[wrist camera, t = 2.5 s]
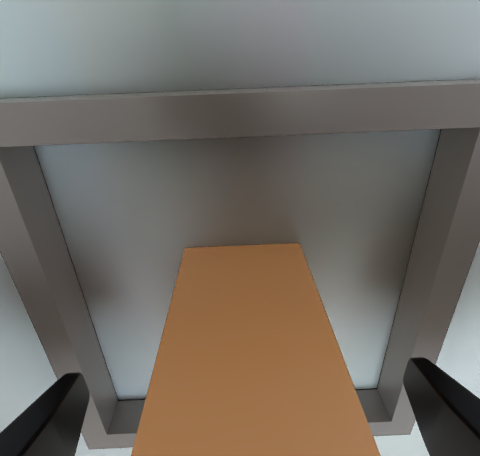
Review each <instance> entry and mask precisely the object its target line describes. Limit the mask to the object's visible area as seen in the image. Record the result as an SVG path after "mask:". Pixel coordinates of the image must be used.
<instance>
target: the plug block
mask: <svg viewBox="0 0 480 456" xmlns="http://www.w3.org/2000/svg"><path fill="white" fill-rule="evenodd" d="M131 456H380V453H379V451H378V448H377V445H376V443H375V440H374V437H373V435H372V432H371V430H370V427H369V424H368V422H367V419H366V416H365V414H364V411H363V409H362V406H361V403H360V401H359V398H358V395H357V393H356V390H355V387H354V385H353V382H352V380H351V377H350V374H349V372H348V369H347V366H346V364H345V361H344V359H343V356H342V353H341V351H340V348H339V345H338V343H337V340H336V338H335V335H334V332H333V330H332V327H331V324H330V322H329V319H328V317H327V314H326V311H325V309H324V306H323V303H322V301H321V298H320V296H319V293H318V290H317V288H316V285H315V282H314V280H313V277H312V275H311V272H310V269H309V267H308V264H307V261H306V259H305V256H304V253H303V251H302V248H301V246H300V243H287V244H263V245H240V246H216V247H193V248H185V249H184V252H183V256H182V260H181V264H180V268H179V272H178V276H177V280H176V283H175V287H174V291H173V295H172V299H171V303H170V307H169V311H168V314H167V318H166V322H165V326H164V330H163V334H162V338H161V342H160V345H159V349H158V353H157V357H156V361H155V365H154V369H153V373H152V376H151V380H150V384H149V388H148V392H147V396H146V400H145V404H144V407H143V411H142V415H141V419H140V423H139V427H138V431H137V435H136V438H135V442H134V446H133V450H132V454H131Z"/></svg>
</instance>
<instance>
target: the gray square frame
mask: <svg viewBox="0 0 480 456" xmlns="http://www.w3.org/2000/svg"><path fill="white" fill-rule="evenodd" d="M425 129H442V130H441V134H440V138H439V142H438V146H437V150H436V154H435V158H434V162H433V166H432V170H431V174H430V178H429V182H428V186H427V190H426V195H425V199H424V203H423V207H422V211H421V215H420V219H419V223H418V227H417V231H416V235H415V239H414V243H413V247H412V251H411V255H410V259H409V263H408V267H407V271H406V275H405V279H404V283H403V287H402V291H401V295H400V299H399V303H398V307H397V311H396V315H395V319H394V323H393V327H392V331H391V335H390V339H389V343H388V347H387V351H386V355H385V359H384V363H383V367H382V371H381V375H380V380H379V384H378V388H377V389H371V390H356V393H357V395H358V398H359V401H360V403H361V406H362V409H363V411H364V414H365V416H366V419H367V422H368V424H369V427H370V430H371V432H372V435H373V436H389V435H410V434H411V431H412V428H413V426H414V423H415V420H416V418H415V416H414V413H413V410H412V407H411V405H410V402H409V399H408V396H407V393H406V391H405V388H404V385H403V375H404V372H405V369H406V365H407V362H408V360H409V359H410V358H415V357H424V358H426V359H428V360H430V361H431V362H432V363H433V364H436V361H437V358H438V356H439V353H440V350H441V347H442V345H443V342H444V339H445V336H446V333H447V331H448V328H449V325H450V322H451V319H452V317H453V314H454V311H455V308H456V305H457V303H458V300H459V297H460V294H461V291H462V289H463V286H464V283H465V280H466V277H467V275H468V272H469V269H470V266H471V263H472V261H473V258H474V255H475V252H476V250H477V247H478V244H479V241H480V79H470V80H445V81H421V82H396V83H371V84H347V85H322V86H298V87H273V88H249V89H224V90H199V91H175V92H150V93H126V94H101V95H76V96H52V97H27V98H3V99H0V252H1V255H2V257H3V259H4V261H5V264H6V266H7V268H8V270H9V272H10V275H11V277H12V279H13V281H14V284H15V286H16V288H17V290H18V293H19V295H20V297H21V299H22V301H23V304H24V306H25V308H26V310H27V313H28V315H29V317H30V319H31V321H32V324H33V326H34V328H35V330H36V333H37V335H38V337H39V339H40V342H41V344H42V346H43V348H44V350H45V353H46V355H47V357H48V359H49V362H50V364H51V366H52V368H53V370H54V373H55V375H56V377H57V379H59V378H61V377H62V376H63V375H64V374H66V373H74V372H80V373H82V374H83V376H84V378H85V381H86V384H87V386H88V389H89V392H90V398H89V403H88V407H87V411H86V414H85V418H84V422H83V426H82V430H81V433H82V435H83V437H84V440H85V442H86V444H87V446H88V448H89V449H106V448H127V447H133V446H134V442H135V438H136V435H137V431H138V427H139V423H140V419H141V415H142V411H143V407H144V404H145V400H128V401H118V399H117V396H116V393H115V390H114V387H113V384H112V381H111V378H110V375H109V372H108V369H107V366H106V363H105V360H104V357H103V354H102V351H101V348H100V345H99V342H98V339H97V336H96V333H95V330H94V327H93V324H92V321H91V318H90V315H89V312H88V309H87V306H86V303H85V300H84V297H83V294H82V291H81V288H80V285H79V282H78V279H77V276H76V273H75V270H74V267H73V264H72V261H71V258H70V255H69V252H68V249H67V246H66V243H65V240H64V237H63V234H62V231H61V228H60V225H59V222H58V219H57V216H56V213H55V210H54V207H53V204H52V201H51V198H50V195H49V192H48V189H47V186H46V183H45V180H44V177H43V174H42V171H41V168H40V165H39V162H38V159H37V156H36V153H35V150H34V147H33V146H39V145H63V144H87V143H111V142H135V141H160V140H184V139H208V138H232V137H256V136H280V135H305V134H329V133H353V132H377V131H401V130H425Z"/></svg>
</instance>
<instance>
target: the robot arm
mask: <svg viewBox="0 0 480 456" xmlns="http://www.w3.org/2000/svg"><path fill="white" fill-rule="evenodd" d="M403 385H404V388H405V391H406V393H407V396H408V399H409V402H410V405H411V407H412V410H413V413H414V416H415V418H416V421H417V424H418V427H419V430H420V432H421V435H422V438H423V440H424V443H425V445H426V448H427V450H428V452H429V454H430V456H480V399H479V398H478V397H477V396H475V395H474V394H473V393H471V392H470V391H469V390H467V389H466V388H465V387H463V386H462V385H461V384H460V383H458V382H457V381H456V380H454V379H453V378H452V377H450V376H449V375H448V374H447V373H445V372H444V371H443V370H441V369H440V368H439V367H437V366H436V365H435V364H433V363H432V362H431V361H430V360H428V359H426V358H424V357H415V358H410V359H409V360H408V362H407V365H406V369H405V372H404V375H403ZM89 398H90V392H89V389H88V386H87V384H86V381H85V378H84V376H83V374H82V373H80V372H74V373H66V374H64V375H63V376H62V377H61V378H59V379H58V380H57V381H56V382H55V383H54V384H53V385H52V386H51V387H50V388H49V389H48V390H46V391H45V392H44V393H43V394H42V395H41V396H40V397H39V398H38V399H37V400H36V401H35V402H33V403H32V404H31V405H30V406H29V407H28V408H27V409H26V410H25V411H24V412H23V413H21V414H20V415H19V416H18V417H17V418H16V419H15V420H14V421H13V422H12V423H11V424H10V425H8V426H7V427H6V428H5V429H4V430H3V431H2V432H1V433H0V456H75V452H76V449H77V445H78V441H79V437H80V433H81V430H82V426H83V422H84V418H85V414H86V411H87V407H88V403H89Z"/></svg>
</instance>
